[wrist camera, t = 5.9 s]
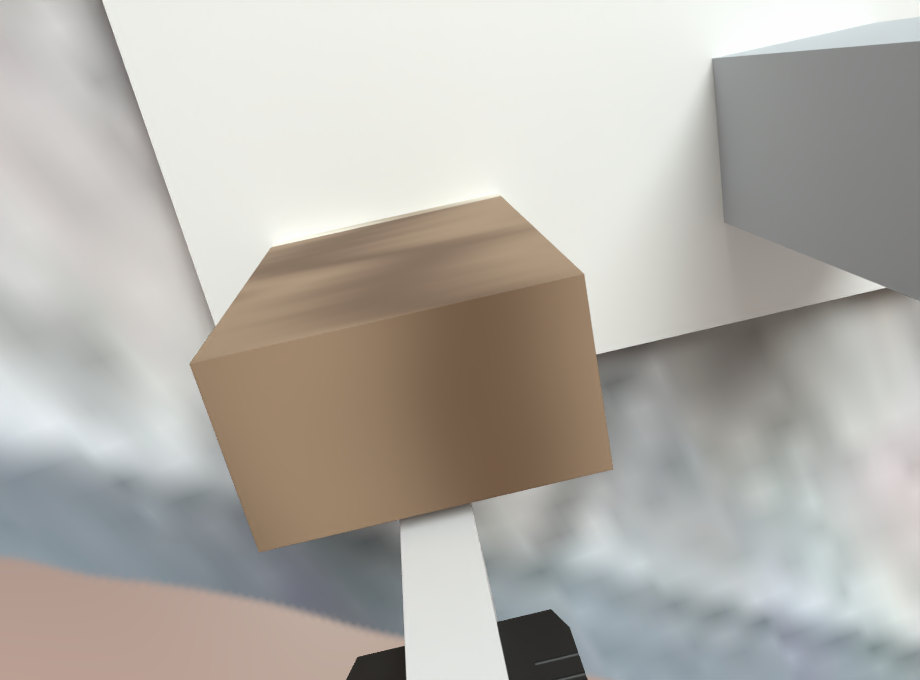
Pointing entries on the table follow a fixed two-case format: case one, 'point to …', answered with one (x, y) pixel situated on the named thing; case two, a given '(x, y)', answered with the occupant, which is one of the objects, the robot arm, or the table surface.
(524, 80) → the board
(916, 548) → the table surface
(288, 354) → the walnut block
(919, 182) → the grey block
